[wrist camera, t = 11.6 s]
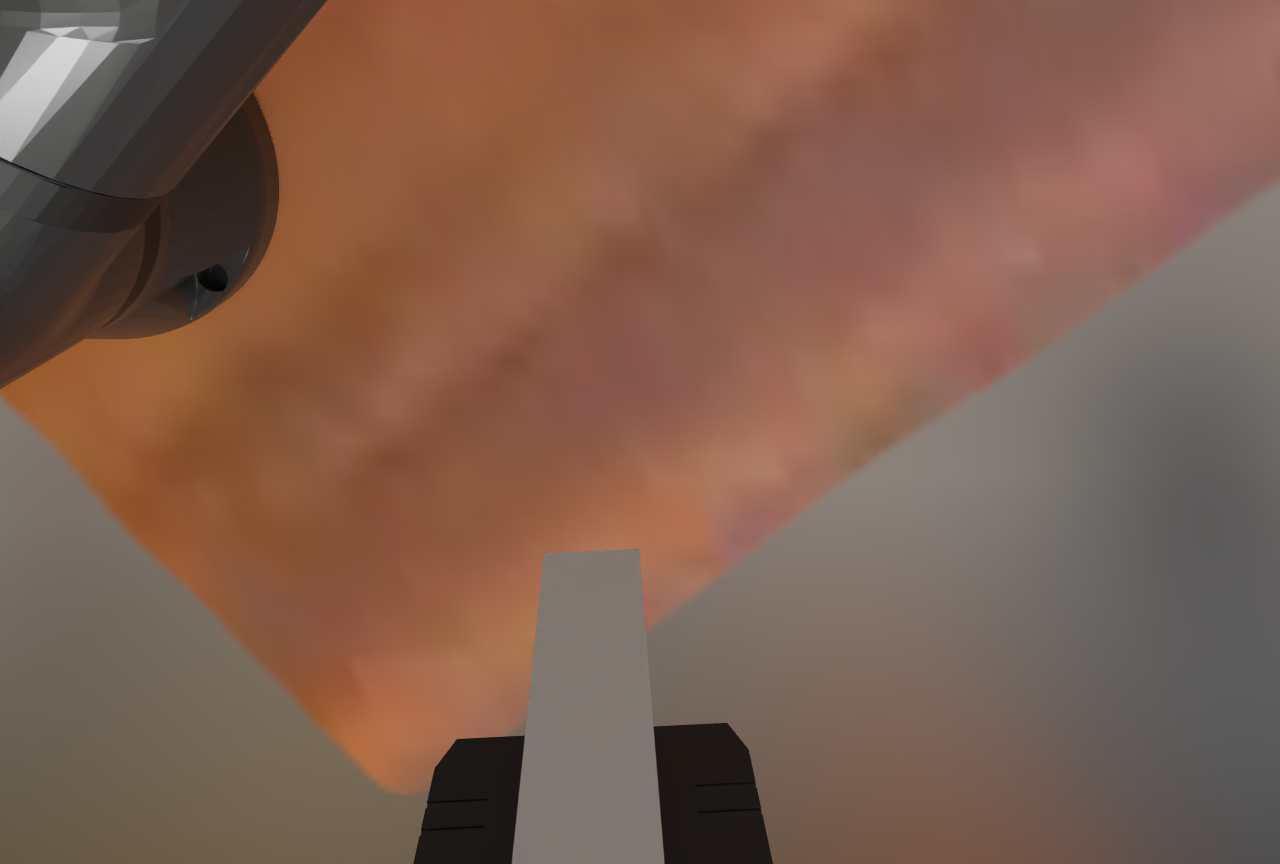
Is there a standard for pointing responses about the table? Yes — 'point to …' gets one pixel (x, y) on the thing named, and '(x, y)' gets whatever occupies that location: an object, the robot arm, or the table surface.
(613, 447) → the table surface
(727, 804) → the robot arm
